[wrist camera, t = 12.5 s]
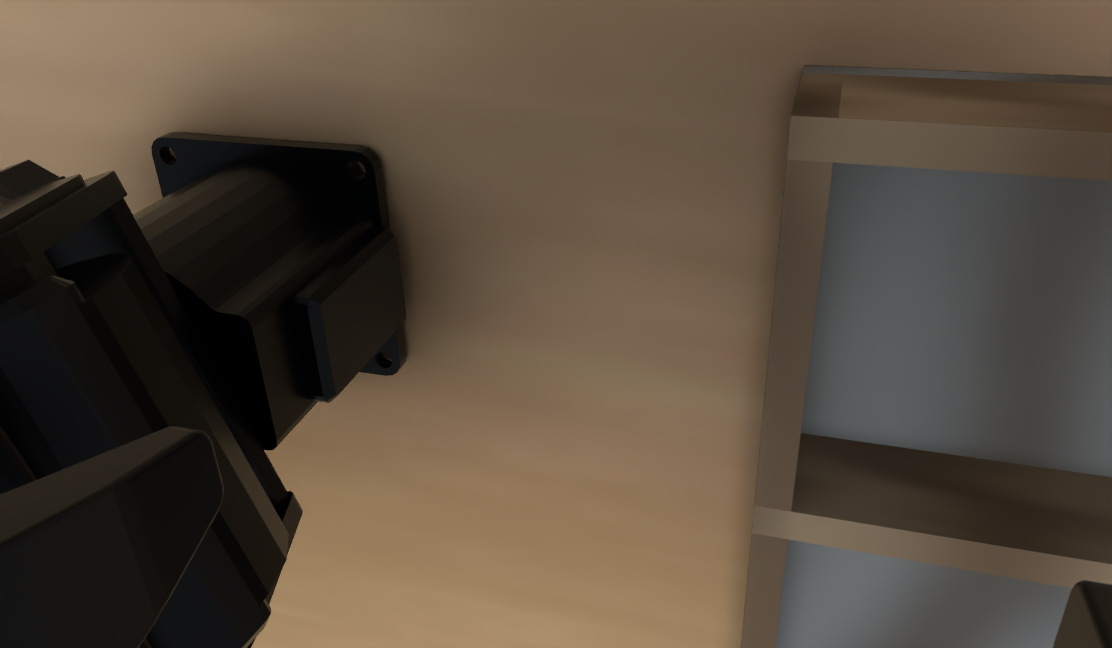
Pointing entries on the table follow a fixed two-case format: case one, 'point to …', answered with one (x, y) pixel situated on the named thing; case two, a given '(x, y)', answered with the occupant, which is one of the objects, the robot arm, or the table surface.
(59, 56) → the table surface
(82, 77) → the table surface
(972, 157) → the rack
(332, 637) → the table surface
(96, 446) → the robot arm
